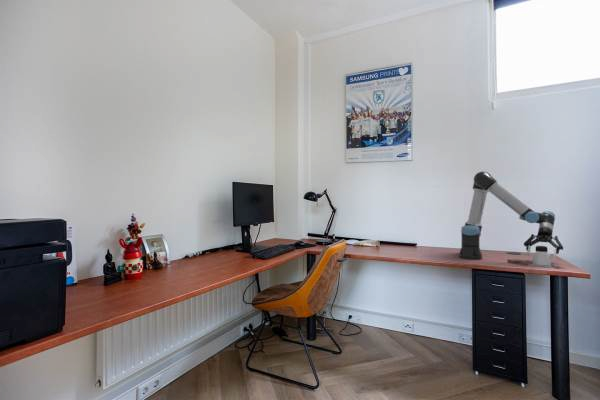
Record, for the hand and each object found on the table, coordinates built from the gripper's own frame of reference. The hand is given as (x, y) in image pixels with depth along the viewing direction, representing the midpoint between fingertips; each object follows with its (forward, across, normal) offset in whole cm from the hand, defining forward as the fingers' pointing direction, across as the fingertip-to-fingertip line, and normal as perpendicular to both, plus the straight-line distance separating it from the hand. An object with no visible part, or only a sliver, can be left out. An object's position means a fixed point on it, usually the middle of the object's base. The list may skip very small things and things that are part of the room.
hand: (541, 255), depth 193 cm
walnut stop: (+7, +12, -3) cm, 14 cm away
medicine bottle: (+3, 0, -6) cm, 7 cm away
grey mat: (+3, 0, -6) cm, 7 cm away
